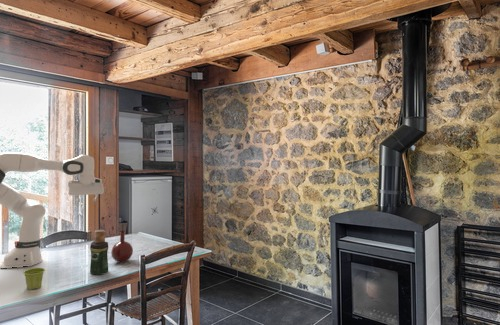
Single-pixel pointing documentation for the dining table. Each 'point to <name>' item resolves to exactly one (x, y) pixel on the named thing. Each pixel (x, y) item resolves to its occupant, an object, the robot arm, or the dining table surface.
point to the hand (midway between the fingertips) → (86, 201)
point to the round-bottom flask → (122, 249)
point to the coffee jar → (99, 258)
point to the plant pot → (34, 277)
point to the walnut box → (99, 236)
